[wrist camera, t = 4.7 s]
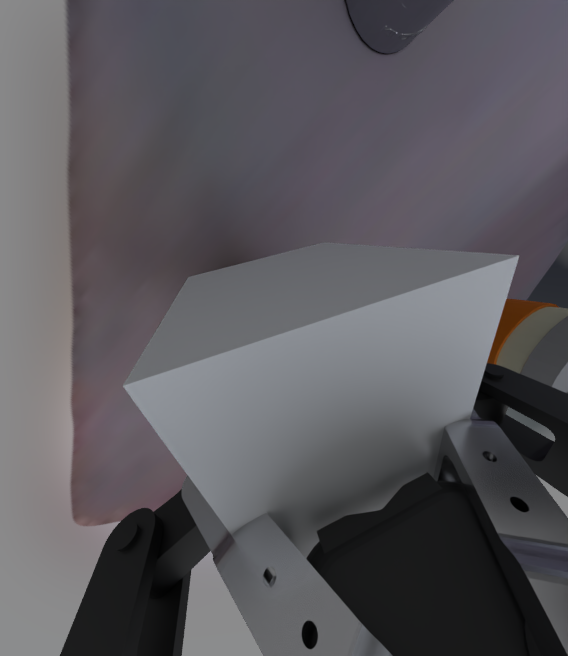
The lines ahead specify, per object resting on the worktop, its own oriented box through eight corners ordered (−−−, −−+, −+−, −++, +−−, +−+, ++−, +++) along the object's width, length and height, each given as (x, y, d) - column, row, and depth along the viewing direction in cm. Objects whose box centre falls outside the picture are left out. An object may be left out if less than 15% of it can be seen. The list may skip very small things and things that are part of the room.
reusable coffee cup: (489, 272, 36) (650, 295, 22) (486, 329, 42) (611, 372, 29) (428, 310, 35) (558, 356, 22) (434, 362, 41) (539, 422, 28)
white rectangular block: (188, 276, 9) (122, 385, 3) (324, 242, 11) (519, 255, 4) (255, 441, 15) (291, 618, 8) (341, 406, 16) (435, 532, 9)
